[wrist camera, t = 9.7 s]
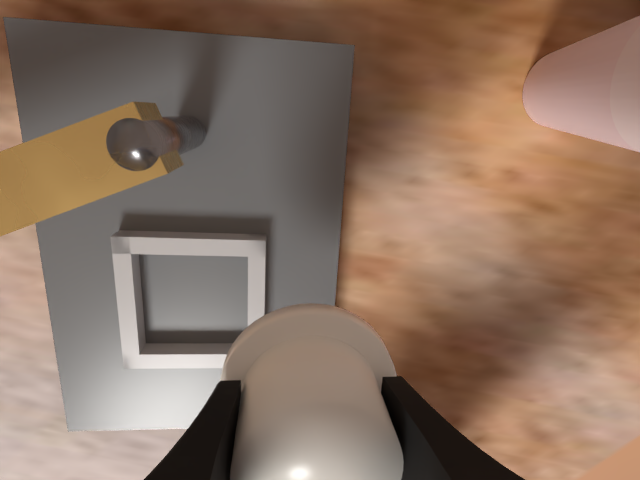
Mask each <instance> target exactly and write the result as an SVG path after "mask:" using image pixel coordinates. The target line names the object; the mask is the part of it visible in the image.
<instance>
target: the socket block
mask: <svg viewBox="0 0 640 480" xmlns="http://www.w3.org/2000/svg"><path fill="white" fill-rule="evenodd" d="M3 19H4V25H5V32H6V38H7V44H8V51H9V57H10V64H11V70H12V76H13V83H14V89H15V96H16V102H17V108H18V115H19V121H20V128H21V134H22V140H23V143H25V142H27V141H30V140H32V139H35V138H38V137H40V136H43V135H46V134H48V133H51V132H54V131H56V130H59V129H62V128H64V127H67V126H70V125H72V124H75V123H77V122H80V121H83V120H85V119H88V118H91V117H93V116H96V115H99V114H101V113H104V112H107V111H109V110H112V109H115V108H117V107H120V106H122V105H125V104H128V103H130V102H147V103H156V105H157V107H158V110H159V112H160V114H161V116H162V117H165V116H193V117H195V118H197V119H198V120H200V121H201V123H202V124H203V126H204V128H205V132H206V136H205V140H204V142H203V143H202V144H201V145H200V146H199V147H197V148H195V149H193V150H190V151H188V152H186V153H183V154H181V155H180V157H181V159H182V161H183V163H184V165H183V166H181V167H179V168H177V169H175V170H173V171H172V172H170V173H168V174H165V175H163V176H160V177H157V178H155V179H152V180H149V181H147V182H144V183H141V184H139V185H136V186H133V187H131V188H128V189H125V190H123V191H120V192H117V193H115V194H112V195H109V196H107V197H104V198H101V199H99V200H96V201H93V202H91V203H88V204H85V205H83V206H80V207H77V208H75V209H72V210H69V211H67V212H64V213H61V214H59V215H56V216H53V217H51V218H48V219H45V220H42V221H40V222H37V223H35V224H36V230H37V236H38V243H39V249H40V256H41V262H42V268H43V275H44V281H45V288H46V294H47V300H48V307H49V313H50V320H51V326H52V332H53V339H54V345H55V352H56V358H57V364H58V371H59V377H60V384H61V390H62V396H63V403H64V409H65V415H66V422H67V428H68V431H107V430H151V429H188V428H189V427H190V425H191V424H192V422H193V421H194V420H195V418H196V417H197V415H198V414H199V413H200V411H201V410H202V408H203V407H204V405H205V404H206V402H207V401H208V399H209V397H210V396H211V394H212V392H213V391H214V389H215V387H216V385H217V384H218V383H219V382H220V379H221V374H222V369H223V365H224V361H225V358H226V356H227V353H228V351H229V349H230V348H231V346H232V344H233V343H234V341H235V340H236V339H237V337H238V336H239V335H240V334H241V333H242V332H243V331H244V330H245V329H246V328H247V327H248V326H249V325H250V324H252V323H253V322H254V321H256V320H257V319H259V318H261V317H262V316H264V315H266V314H268V313H270V312H272V311H275V310H277V309H280V308H283V307H287V306H292V305H297V304H308V303H314V304H326V305H331V306H335V297H336V283H337V270H338V257H339V244H340V231H341V218H342V205H343V192H344V178H345V165H346V152H347V139H348V126H349V113H350V100H351V87H352V73H353V60H354V47H355V45H346V44H334V43H321V42H309V41H297V40H284V39H272V38H259V37H247V36H234V35H222V34H209V33H197V32H184V31H172V30H160V29H147V28H135V27H122V26H110V25H97V24H85V23H72V22H60V21H47V20H35V19H22V18H10V17H3Z"/></svg>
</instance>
